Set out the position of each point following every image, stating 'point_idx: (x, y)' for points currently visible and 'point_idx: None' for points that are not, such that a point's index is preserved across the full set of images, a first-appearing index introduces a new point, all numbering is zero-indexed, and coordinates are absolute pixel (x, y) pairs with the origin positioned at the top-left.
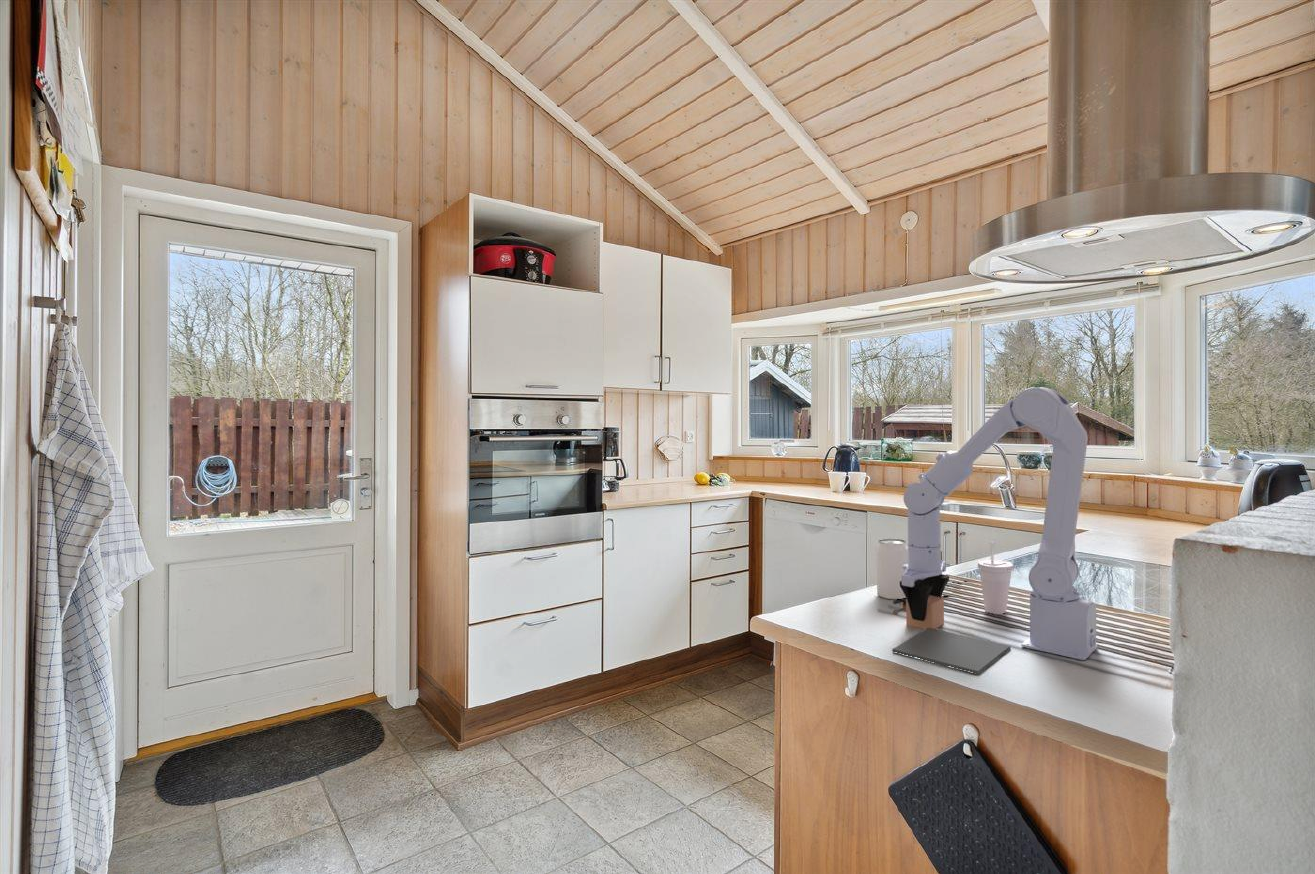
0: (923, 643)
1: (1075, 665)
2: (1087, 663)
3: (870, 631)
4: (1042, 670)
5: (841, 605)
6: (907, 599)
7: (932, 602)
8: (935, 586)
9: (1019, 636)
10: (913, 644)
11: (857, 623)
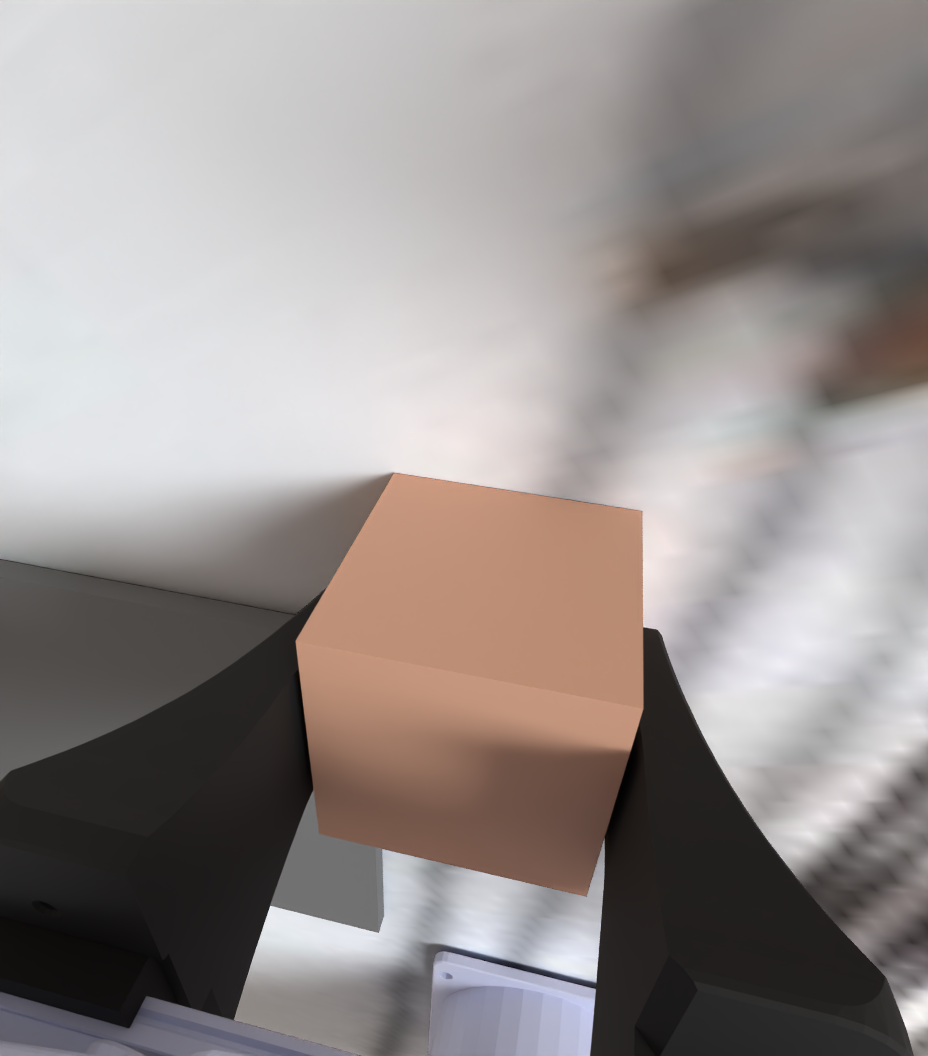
0: (83, 664)
1: (377, 1021)
2: (422, 1044)
3: (16, 265)
4: (255, 958)
5: None
6: (199, 688)
7: (368, 833)
8: (608, 968)
9: (595, 953)
10: (21, 626)
11: (71, 12)
